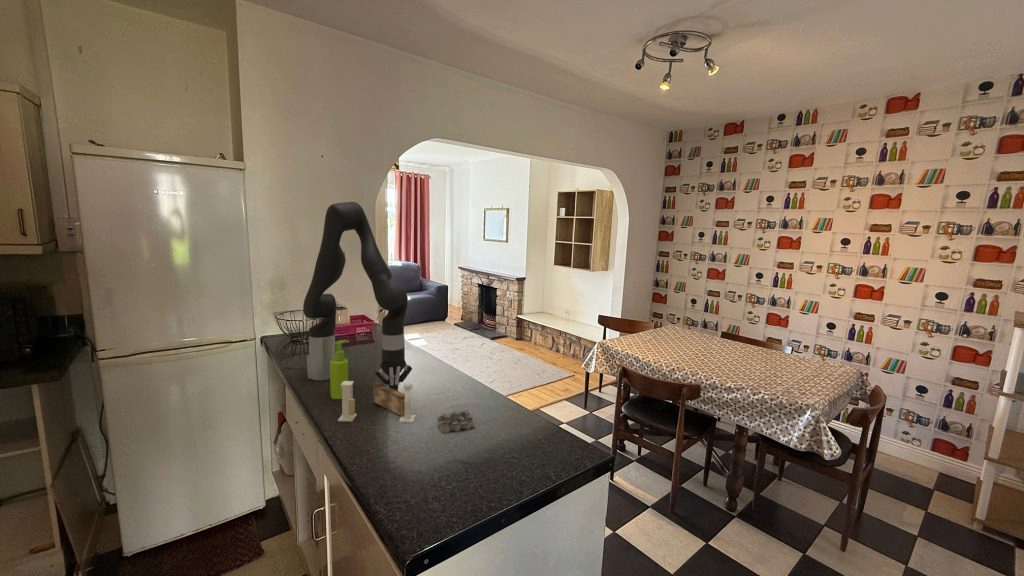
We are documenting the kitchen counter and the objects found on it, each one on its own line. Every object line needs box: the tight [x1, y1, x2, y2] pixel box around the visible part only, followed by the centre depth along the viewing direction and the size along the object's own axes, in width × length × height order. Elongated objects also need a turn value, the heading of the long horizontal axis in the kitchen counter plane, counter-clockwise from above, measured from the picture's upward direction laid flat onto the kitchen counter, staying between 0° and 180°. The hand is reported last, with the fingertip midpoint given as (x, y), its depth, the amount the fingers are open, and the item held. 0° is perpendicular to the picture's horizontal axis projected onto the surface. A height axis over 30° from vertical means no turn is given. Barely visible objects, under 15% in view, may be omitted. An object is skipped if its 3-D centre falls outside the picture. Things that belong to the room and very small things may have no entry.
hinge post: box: [398, 381, 417, 424], centre depth 128 cm, size 4×4×13 cm
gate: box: [372, 382, 405, 416], centre depth 134 cm, size 16×2×6 cm, turn 54°
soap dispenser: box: [329, 339, 350, 400], centre depth 143 cm, size 6×7×20 cm
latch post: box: [337, 380, 358, 423], centre depth 127 cm, size 5×4×12 cm
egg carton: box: [436, 409, 475, 434], centre depth 126 cm, size 11×8×4 cm
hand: (393, 394), depth 139 cm, fingers closed
